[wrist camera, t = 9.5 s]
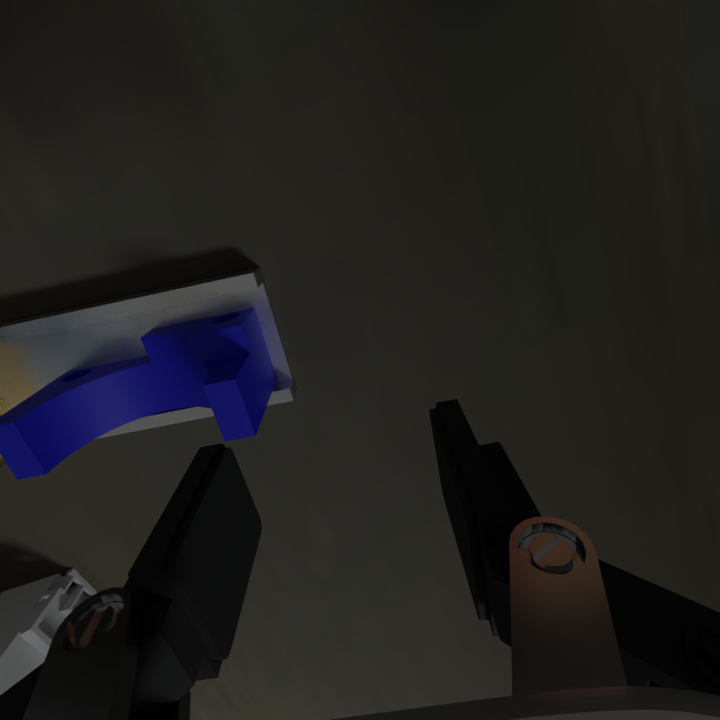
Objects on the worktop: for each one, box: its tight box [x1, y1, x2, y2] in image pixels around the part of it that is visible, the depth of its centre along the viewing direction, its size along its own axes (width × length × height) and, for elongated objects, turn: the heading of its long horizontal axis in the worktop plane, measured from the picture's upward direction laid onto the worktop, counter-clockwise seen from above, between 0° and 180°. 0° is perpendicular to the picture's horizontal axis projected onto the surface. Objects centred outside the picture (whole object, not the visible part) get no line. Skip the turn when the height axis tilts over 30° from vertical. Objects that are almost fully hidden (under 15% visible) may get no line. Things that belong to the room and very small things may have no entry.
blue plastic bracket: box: [0, 308, 277, 479], centre depth 21 cm, size 12×4×6 cm, turn 101°
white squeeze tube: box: [0, 267, 297, 467], centre depth 23 cm, size 8×19×3 cm, turn 102°
